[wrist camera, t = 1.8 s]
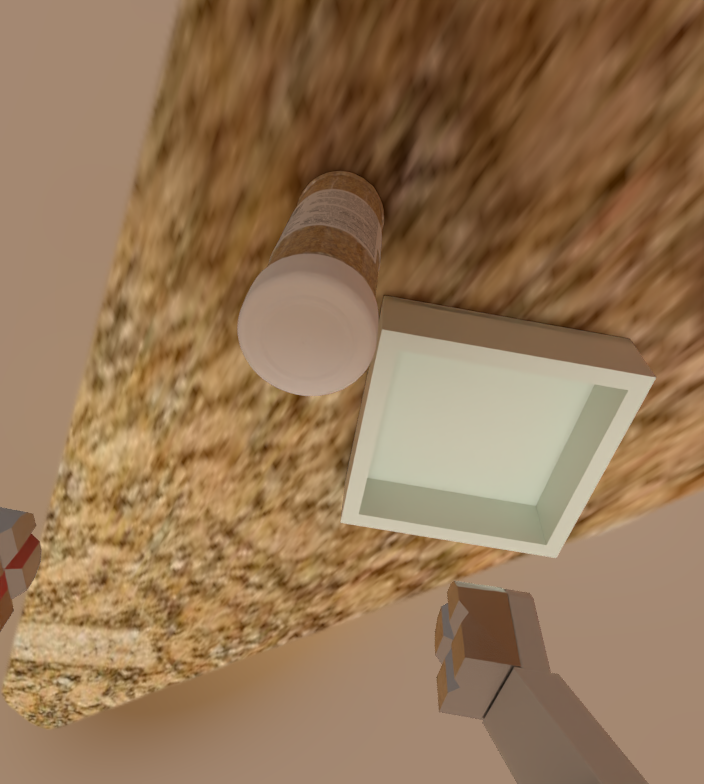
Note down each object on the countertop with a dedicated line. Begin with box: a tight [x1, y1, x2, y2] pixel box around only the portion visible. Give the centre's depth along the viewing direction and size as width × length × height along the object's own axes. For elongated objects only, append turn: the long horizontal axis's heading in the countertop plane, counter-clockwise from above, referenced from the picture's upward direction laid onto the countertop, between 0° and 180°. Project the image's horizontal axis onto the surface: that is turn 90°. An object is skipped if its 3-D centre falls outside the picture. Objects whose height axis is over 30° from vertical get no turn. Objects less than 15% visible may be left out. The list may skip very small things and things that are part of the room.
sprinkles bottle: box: [238, 170, 384, 396], centre depth 24 cm, size 5×5×14 cm
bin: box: [340, 295, 656, 558], centre depth 34 cm, size 14×14×4 cm
